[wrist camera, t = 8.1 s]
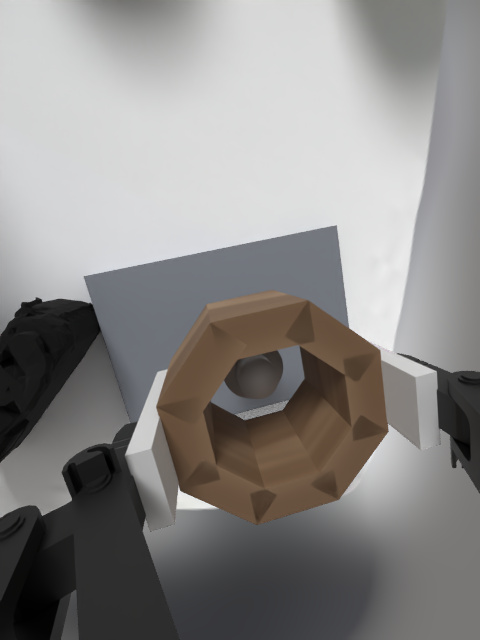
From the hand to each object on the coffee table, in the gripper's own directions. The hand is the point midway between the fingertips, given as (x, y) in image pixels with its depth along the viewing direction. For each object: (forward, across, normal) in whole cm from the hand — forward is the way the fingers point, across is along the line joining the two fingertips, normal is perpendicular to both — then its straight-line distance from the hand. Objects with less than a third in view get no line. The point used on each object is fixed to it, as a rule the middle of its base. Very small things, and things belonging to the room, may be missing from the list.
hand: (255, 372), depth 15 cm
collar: (0, 0, 0) cm, 0 cm away
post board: (+10, 0, 0) cm, 10 cm away
